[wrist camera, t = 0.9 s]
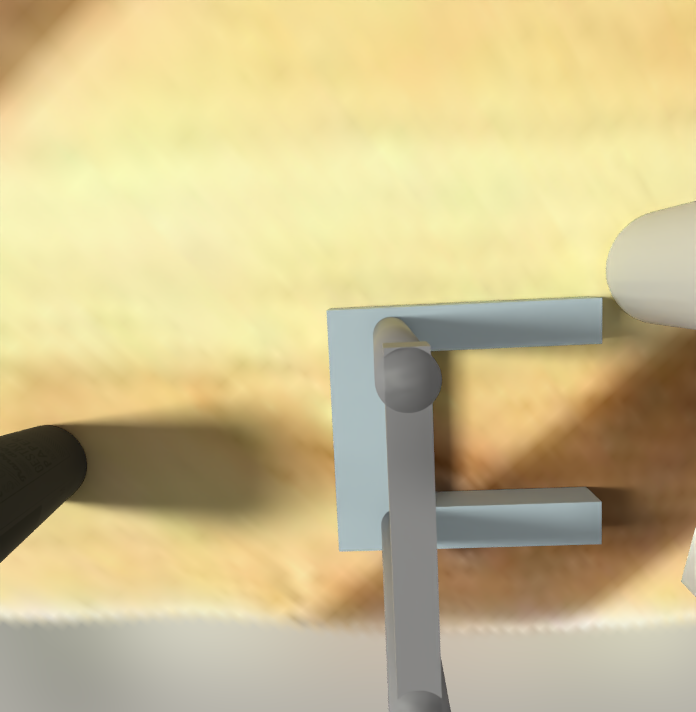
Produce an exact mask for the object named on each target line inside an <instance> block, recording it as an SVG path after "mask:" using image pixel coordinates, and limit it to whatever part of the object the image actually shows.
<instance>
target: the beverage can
mask: <svg viewBox="0 0 696 712" xmlns="http://www.w3.org/2000/svg"><path fill="white" fill-rule="evenodd" d="M606 279H607V284H608V287H609V289H610V292H611V294H612V297H613V298H614V300H615V301H616V303H617V304H618V305H619V306H620V307H621V308H622V309H623V310H624V311H625V312H626V313H627V314H629V315H630V316H632V317H634V318H636V319H638V320H640V321H643V322H647V323H652V324H659V325H666V326H673V327H680V328H687V329H694V330H696V201H694V202H690V203H686V204H682V205H678V206H674V207H670V208H666V209H662V210H658V211H654V212H651V213H648V214H645V215H643V216H641V217H639V218H637V219H635V220H634V221H632V222H631V223H629V224H628V225H627V226H626V227H625V228H624V229H623V230H622V231H621V232H620V233H619V234H618V236H617V237H616V239H615V240H614V242H613V244H612V246H611V248H610V251H609V254H608V257H607V262H606Z"/></svg>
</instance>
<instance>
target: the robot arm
mask: <svg viewBox="0 0 696 712" xmlns="http://www.w3.org/2000/svg"><path fill="white" fill-rule="evenodd" d="M681 582H682V583H683V584H684V585H685V586H686V587H687V588H688V589H689V590H690V591H691V593H692V594H693V595H694V596H695V597H696V528H695V532H694V536H693V539H692V543H691V547H690V550H689V554H688V558H687V561H686V565H685V569H684V572H683V576H682V580H681Z"/></svg>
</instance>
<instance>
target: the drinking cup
mask: <svg viewBox="0 0 696 712" xmlns="http://www.w3.org/2000/svg"><path fill="white" fill-rule="evenodd" d="M86 469H87V462H86V456H85V453H84V450H83V448H82V446H81V445H80V443H79V442H78V440H77V439H76V438H75V437H74V436H73V435H71V434H70V433H69V432H67V431H65V430H63V429H61V428H59V427H55V426H48V425H44V426H37V427H33V428H30V429H26V430H22V431H18V432H14V433H11V434H7V435H3V436H0V563H1V562H2V561H3V560H4V559H5V558H6V557H7V556H8V555H9V554H10V553H11V552H12V551H13V550H14V549H15V548H16V547H17V546H18V545H19V544H21V543H22V542H23V541H24V540H25V539H26V538H27V537H28V536H29V535H30V534H31V533H32V532H33V531H34V530H35V529H36V528H37V527H38V526H39V525H41V524H42V523H43V522H44V521H45V520H46V519H47V518H48V517H49V516H50V515H51V514H52V513H53V512H54V511H55V510H56V509H57V508H58V507H59V506H61V505H62V504H63V503H64V502H65V501H66V500H67V499H68V498H69V497H70V496H71V495H72V494H73V493H74V492H75V491H76V490H77V489H78V488H79V487H80V485H81V484H82V482H83V480H84V478H85V475H86Z"/></svg>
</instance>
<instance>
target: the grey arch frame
mask: <svg viewBox="0 0 696 712" xmlns="http://www.w3.org/2000/svg"><path fill="white" fill-rule="evenodd" d="M327 326H328V345H329V364H330V383H331V402H332V422H333V441H334V460H335V479H336V498H337V518H338V537H339V551H373V550H382V557H383V581H384V606H385V630H386V654H387V677H388V678H387V679H388V703H389V712H451V710H450V705H449V699H448V694H447V688H446V683H445V677H444V672H443V667H442V661H441V656H440V626H439V594H438V562H437V549H443V548H478V547H513V546H548V545H583V544H602V502H601V501H600V500H599V499H598V498H597V497H596V496H595V495H594V494H593V493H592V492H591V491H590V490H589V489H588V488H587V487H566V488H535V489H505V490H474V491H443V492H435V466H434V435H433V402H434V401H435V399H436V398H437V396H438V394H439V392H440V389H441V385H442V375H441V370H440V368H439V365H438V364H437V362H436V361H435V359H434V358H433V357H432V356H431V351H442V350H465V349H489V348H512V347H535V346H558V345H582V344H602V298H598V297H568V298H546V299H525V300H503V301H482V302H460V303H439V304H417V305H396V306H374V307H353V308H331V309H328V310H327Z"/></svg>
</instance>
